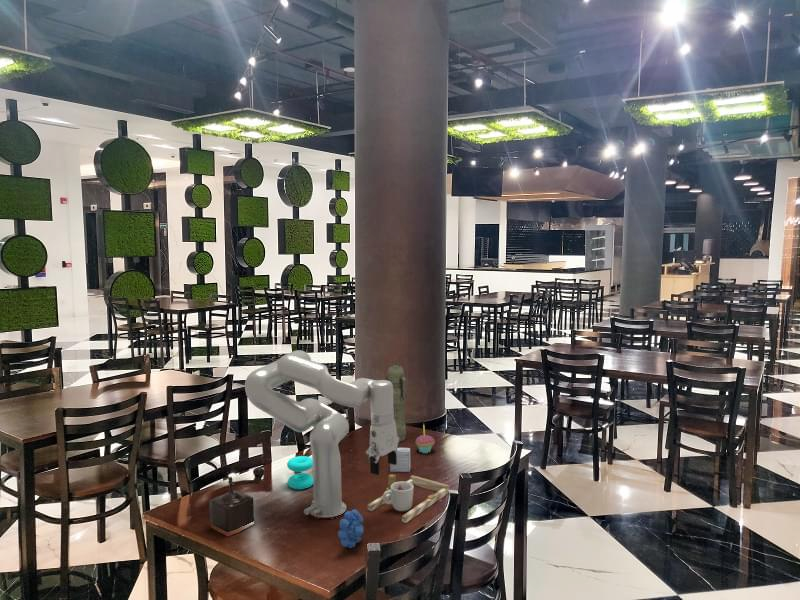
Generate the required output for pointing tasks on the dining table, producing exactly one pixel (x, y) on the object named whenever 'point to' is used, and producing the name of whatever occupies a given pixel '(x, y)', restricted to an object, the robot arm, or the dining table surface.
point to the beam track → (421, 482)
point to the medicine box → (402, 461)
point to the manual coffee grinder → (234, 506)
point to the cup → (400, 495)
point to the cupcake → (425, 442)
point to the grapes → (351, 528)
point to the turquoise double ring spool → (301, 478)
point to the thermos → (398, 398)
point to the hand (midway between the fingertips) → (383, 468)
